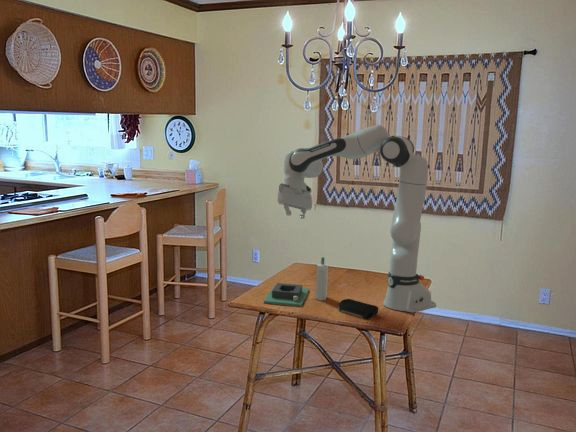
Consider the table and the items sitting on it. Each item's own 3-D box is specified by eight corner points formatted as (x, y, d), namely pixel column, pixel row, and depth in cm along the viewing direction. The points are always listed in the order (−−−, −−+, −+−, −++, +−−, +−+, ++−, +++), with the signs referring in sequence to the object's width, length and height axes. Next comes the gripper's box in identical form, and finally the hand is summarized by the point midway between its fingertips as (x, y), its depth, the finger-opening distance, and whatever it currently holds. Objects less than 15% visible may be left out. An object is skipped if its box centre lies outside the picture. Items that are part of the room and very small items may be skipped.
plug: (316, 295, 231) (318, 255, 228) (326, 296, 230) (328, 256, 227) (315, 299, 226) (316, 258, 223) (325, 300, 225) (327, 259, 222)
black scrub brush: (380, 315, 210) (380, 307, 210) (369, 321, 204) (369, 312, 203) (346, 306, 221) (346, 297, 220) (335, 311, 214) (335, 302, 213)
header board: (274, 287, 241) (274, 279, 240) (308, 290, 238) (309, 282, 238) (263, 303, 220) (263, 294, 219) (301, 306, 217) (301, 297, 216)
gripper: (284, 180, 224) (285, 212, 221) (313, 189, 239) (315, 219, 236) (273, 183, 228) (274, 214, 225) (303, 192, 243) (304, 221, 240)
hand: (295, 216), depth 231 cm, fingers open, 8 cm apart
